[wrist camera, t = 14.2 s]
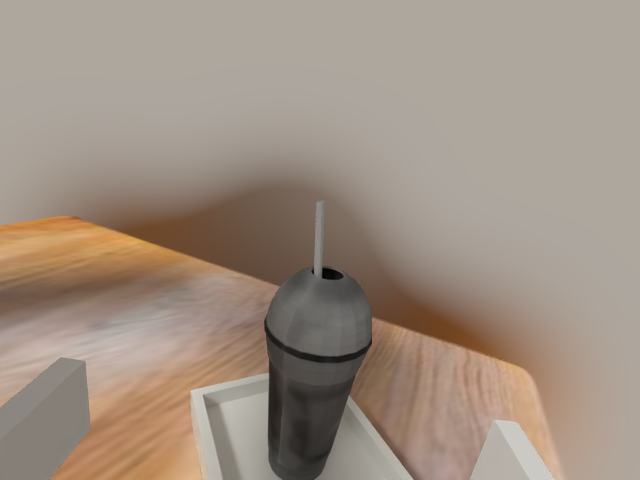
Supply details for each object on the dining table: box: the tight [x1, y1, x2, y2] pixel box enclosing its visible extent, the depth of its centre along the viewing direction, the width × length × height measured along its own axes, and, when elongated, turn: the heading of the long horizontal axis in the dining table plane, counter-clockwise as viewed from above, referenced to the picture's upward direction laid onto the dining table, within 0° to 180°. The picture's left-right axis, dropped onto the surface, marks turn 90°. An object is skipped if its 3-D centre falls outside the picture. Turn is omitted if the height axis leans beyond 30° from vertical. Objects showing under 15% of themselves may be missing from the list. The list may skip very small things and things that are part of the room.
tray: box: [190, 372, 413, 480], centre depth 25 cm, size 15×13×2 cm
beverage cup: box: [264, 201, 372, 480], centre depth 22 cm, size 7×7×20 cm
